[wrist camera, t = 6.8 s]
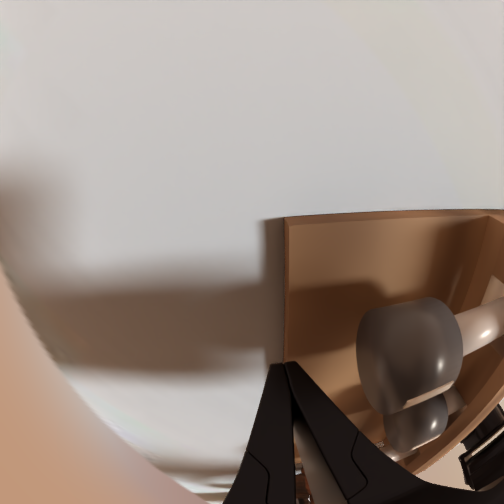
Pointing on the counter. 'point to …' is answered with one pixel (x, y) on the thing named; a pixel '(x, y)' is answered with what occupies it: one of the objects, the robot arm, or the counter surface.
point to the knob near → (419, 349)
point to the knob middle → (421, 421)
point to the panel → (391, 302)
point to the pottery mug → (303, 489)
